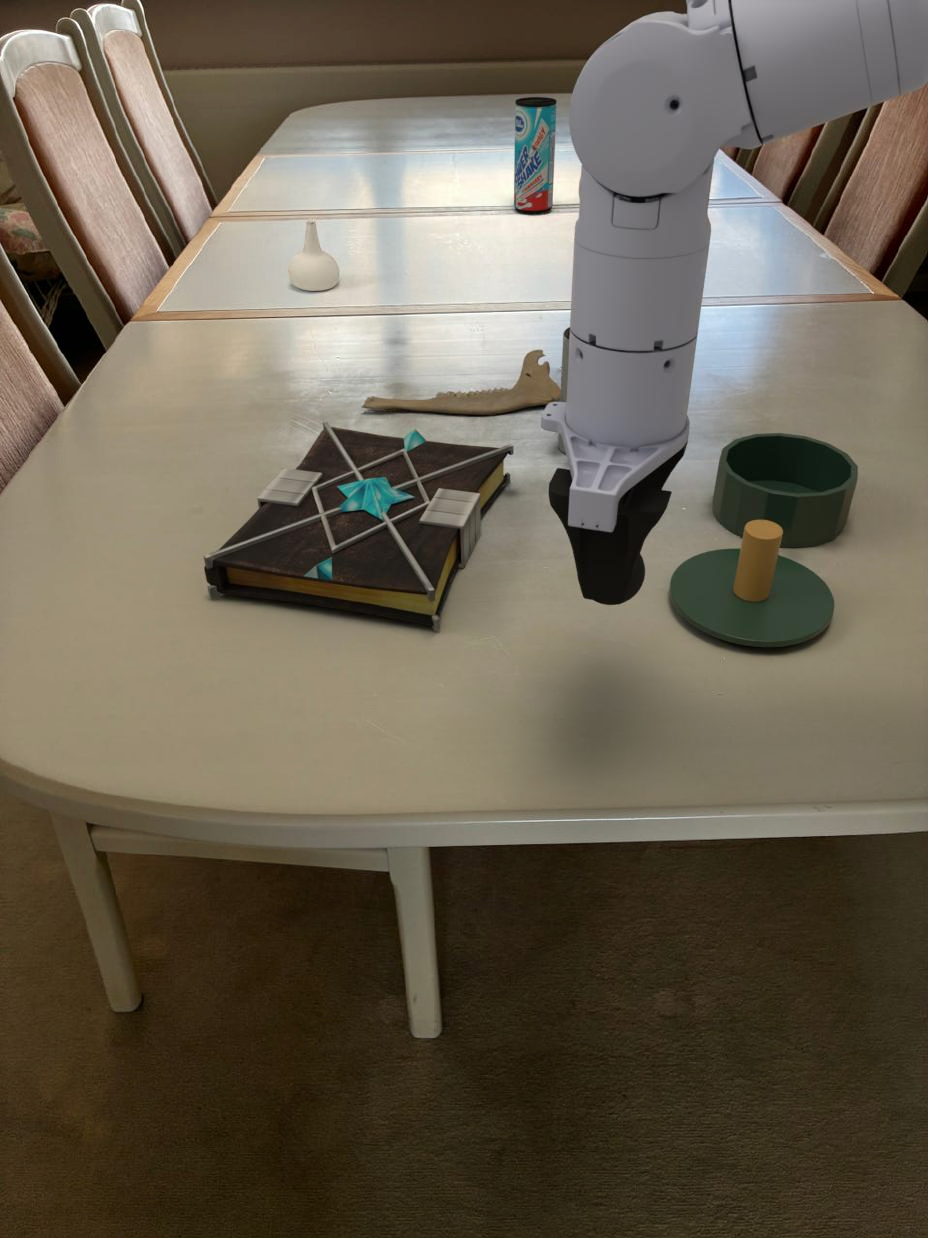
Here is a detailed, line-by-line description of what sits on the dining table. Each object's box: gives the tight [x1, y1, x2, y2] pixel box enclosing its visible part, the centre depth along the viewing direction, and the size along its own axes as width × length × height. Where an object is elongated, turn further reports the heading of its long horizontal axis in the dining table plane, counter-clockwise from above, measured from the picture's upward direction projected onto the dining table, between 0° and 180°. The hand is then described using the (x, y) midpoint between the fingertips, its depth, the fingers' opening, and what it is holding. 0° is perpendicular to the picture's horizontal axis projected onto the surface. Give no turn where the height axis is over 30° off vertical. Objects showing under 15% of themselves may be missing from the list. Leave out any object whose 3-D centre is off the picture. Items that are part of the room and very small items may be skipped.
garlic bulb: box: [287, 218, 340, 292], centre depth 118 cm, size 6×6×8 cm
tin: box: [711, 432, 859, 549], centre depth 74 cm, size 10×10×4 cm
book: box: [202, 421, 514, 632], centre depth 72 cm, size 22×17×5 cm
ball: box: [576, 552, 646, 606], centre depth 51 cm, size 4×4×4 cm
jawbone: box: [361, 349, 561, 416], centre depth 91 cm, size 9×20×2 cm, turn 119°
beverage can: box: [513, 96, 558, 216], centre depth 142 cm, size 6×6×15 cm
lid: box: [669, 520, 835, 648], centre depth 64 cm, size 11×11×6 cm
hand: (610, 576), depth 51 cm, fingers closed on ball, 3 cm apart
